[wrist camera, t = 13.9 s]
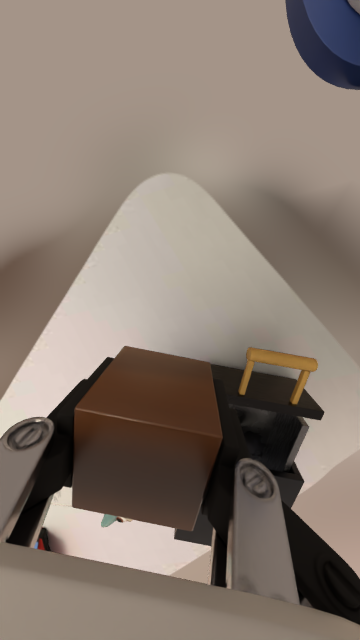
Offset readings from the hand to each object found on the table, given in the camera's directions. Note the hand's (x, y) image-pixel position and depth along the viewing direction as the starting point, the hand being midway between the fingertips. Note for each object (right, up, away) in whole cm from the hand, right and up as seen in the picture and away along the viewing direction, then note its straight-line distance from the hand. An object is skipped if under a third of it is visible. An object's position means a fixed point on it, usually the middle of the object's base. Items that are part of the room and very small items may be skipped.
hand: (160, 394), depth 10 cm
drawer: (+11, -8, +19) cm, 23 cm away
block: (0, 0, 0) cm, 0 cm away
